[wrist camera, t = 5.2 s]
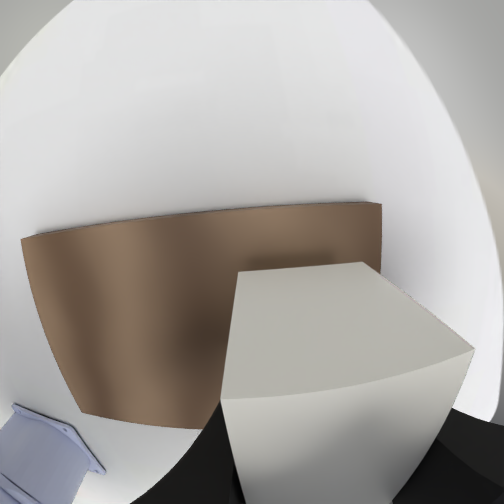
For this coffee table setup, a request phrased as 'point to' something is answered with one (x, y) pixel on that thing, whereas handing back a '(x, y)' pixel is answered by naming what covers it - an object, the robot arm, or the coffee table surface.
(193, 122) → the coffee table surface
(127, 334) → the board
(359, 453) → the block
